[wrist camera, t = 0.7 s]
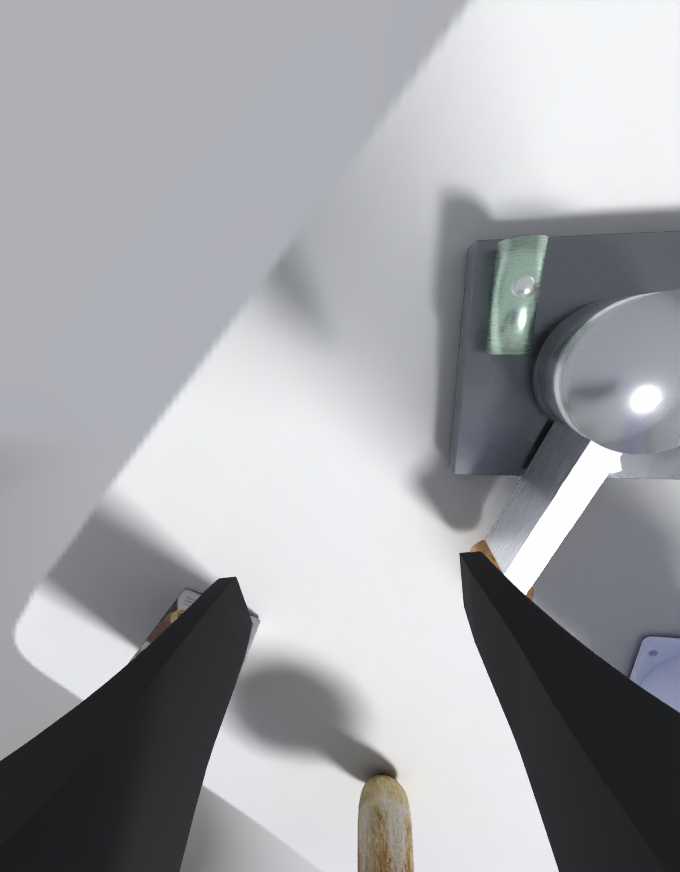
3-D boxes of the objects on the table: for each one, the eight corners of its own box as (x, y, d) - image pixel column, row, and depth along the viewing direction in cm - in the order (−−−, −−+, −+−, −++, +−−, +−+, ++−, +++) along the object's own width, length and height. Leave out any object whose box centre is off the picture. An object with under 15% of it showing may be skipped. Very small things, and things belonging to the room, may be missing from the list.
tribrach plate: (677, 467, 17) (747, 499, 14) (448, 463, 19) (465, 491, 15) (751, 236, 14) (867, 206, 11) (468, 249, 15) (494, 226, 12)
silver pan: (578, 278, 14) (631, 263, 11) (709, 325, 14) (796, 324, 11) (431, 553, 19) (442, 592, 16) (529, 588, 19) (557, 633, 16)
